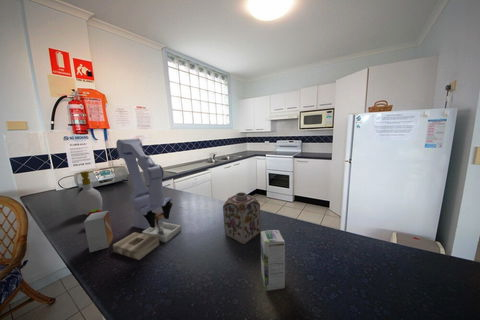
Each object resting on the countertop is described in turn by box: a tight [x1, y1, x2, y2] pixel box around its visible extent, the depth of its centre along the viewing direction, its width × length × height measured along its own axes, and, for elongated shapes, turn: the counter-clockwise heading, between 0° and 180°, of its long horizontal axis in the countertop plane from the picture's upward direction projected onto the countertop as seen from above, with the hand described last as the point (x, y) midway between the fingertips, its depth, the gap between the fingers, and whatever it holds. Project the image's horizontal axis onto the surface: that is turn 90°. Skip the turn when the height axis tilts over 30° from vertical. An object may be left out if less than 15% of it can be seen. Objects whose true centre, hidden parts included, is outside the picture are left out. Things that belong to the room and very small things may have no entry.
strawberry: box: [87, 207, 104, 218], centre depth 88 cm, size 6×8×10 cm
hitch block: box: [112, 232, 160, 261], centre depth 68 cm, size 14×9×3 cm, turn 68°
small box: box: [83, 210, 114, 253], centre depth 70 cm, size 8×6×13 cm
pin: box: [155, 212, 164, 235], centre depth 75 cm, size 4×4×9 cm
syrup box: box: [260, 229, 286, 292], centre depth 48 cm, size 6×6×14 cm
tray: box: [141, 221, 182, 243], centre depth 77 cm, size 13×9×2 cm
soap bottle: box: [76, 170, 103, 216], centre depth 101 cm, size 14×9×26 cm, turn 79°
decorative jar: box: [222, 191, 262, 245], centre depth 73 cm, size 12×12×18 cm
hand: (160, 222), depth 76 cm, fingers open, 7 cm apart
